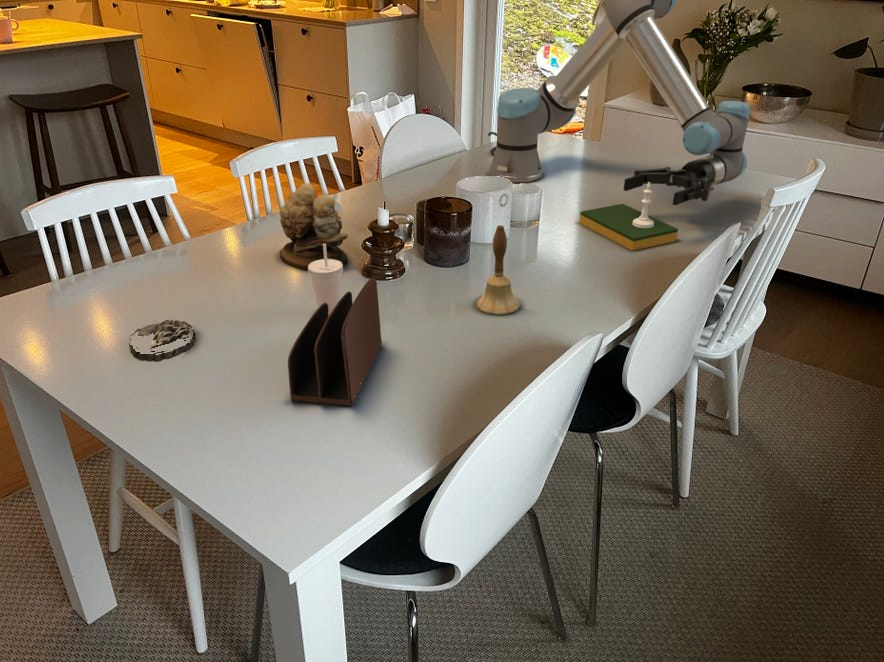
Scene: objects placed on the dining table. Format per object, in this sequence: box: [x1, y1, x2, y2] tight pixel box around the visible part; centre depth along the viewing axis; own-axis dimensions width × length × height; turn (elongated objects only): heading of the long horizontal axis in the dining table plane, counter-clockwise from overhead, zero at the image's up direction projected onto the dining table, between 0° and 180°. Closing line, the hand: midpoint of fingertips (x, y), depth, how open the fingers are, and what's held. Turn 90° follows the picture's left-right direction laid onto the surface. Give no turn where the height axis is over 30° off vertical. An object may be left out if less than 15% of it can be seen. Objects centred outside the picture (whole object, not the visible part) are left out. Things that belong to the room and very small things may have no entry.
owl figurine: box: [278, 182, 349, 271], centre depth 159 cm, size 18×12×17 cm, turn 57°
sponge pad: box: [579, 203, 679, 251], centre depth 178 cm, size 20×13×3 cm, turn 27°
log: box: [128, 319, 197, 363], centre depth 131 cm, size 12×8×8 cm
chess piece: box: [632, 182, 654, 228], centre depth 171 cm, size 5×5×10 cm
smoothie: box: [307, 244, 344, 316], centre depth 138 cm, size 6×6×14 cm
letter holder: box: [287, 277, 383, 407], centre depth 119 cm, size 10×20×14 cm, turn 171°
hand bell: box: [476, 224, 521, 316], centre depth 140 cm, size 8×8×16 cm
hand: (649, 192), depth 171 cm, fingers open, 13 cm apart
